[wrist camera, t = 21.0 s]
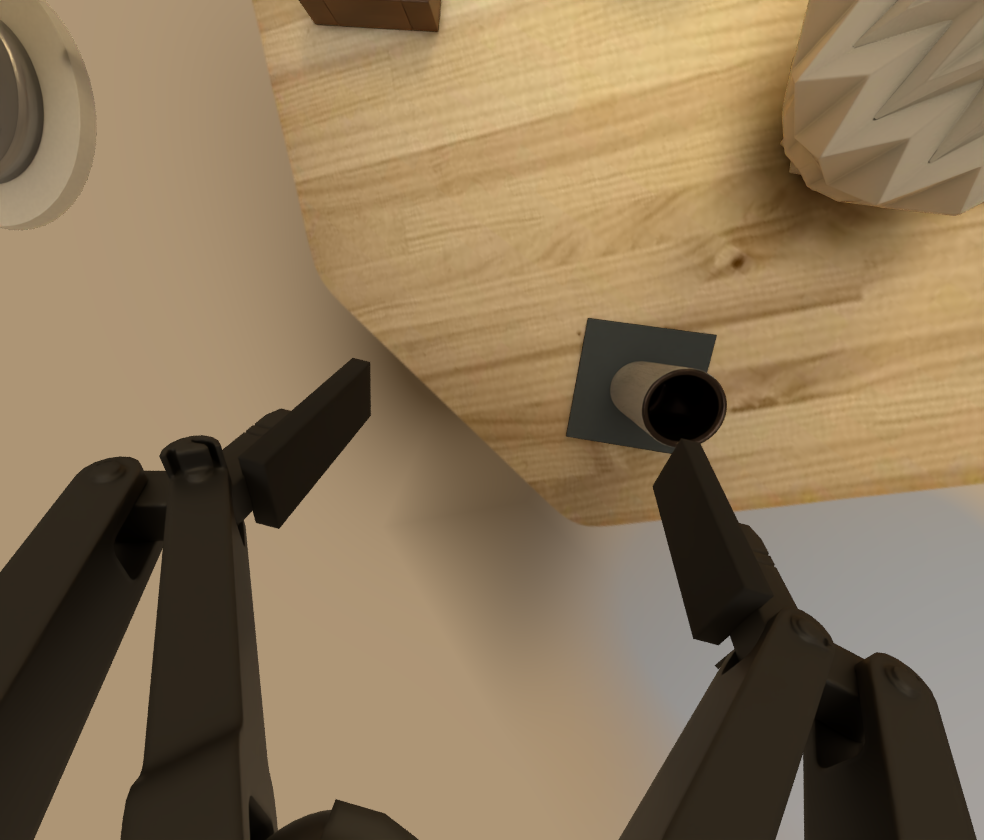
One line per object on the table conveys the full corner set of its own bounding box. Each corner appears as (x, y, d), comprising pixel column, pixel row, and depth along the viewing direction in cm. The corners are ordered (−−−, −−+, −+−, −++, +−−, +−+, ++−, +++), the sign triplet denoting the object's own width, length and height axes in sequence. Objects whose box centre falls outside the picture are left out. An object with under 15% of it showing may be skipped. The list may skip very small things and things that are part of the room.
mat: (566, 435, 33) (566, 436, 32) (587, 318, 31) (588, 318, 30) (684, 454, 32) (685, 456, 31) (714, 335, 30) (717, 335, 29)
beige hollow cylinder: (608, 363, 31) (640, 372, 21) (666, 358, 30) (728, 364, 20) (610, 417, 32) (642, 450, 22) (667, 413, 31) (727, 446, 21)
